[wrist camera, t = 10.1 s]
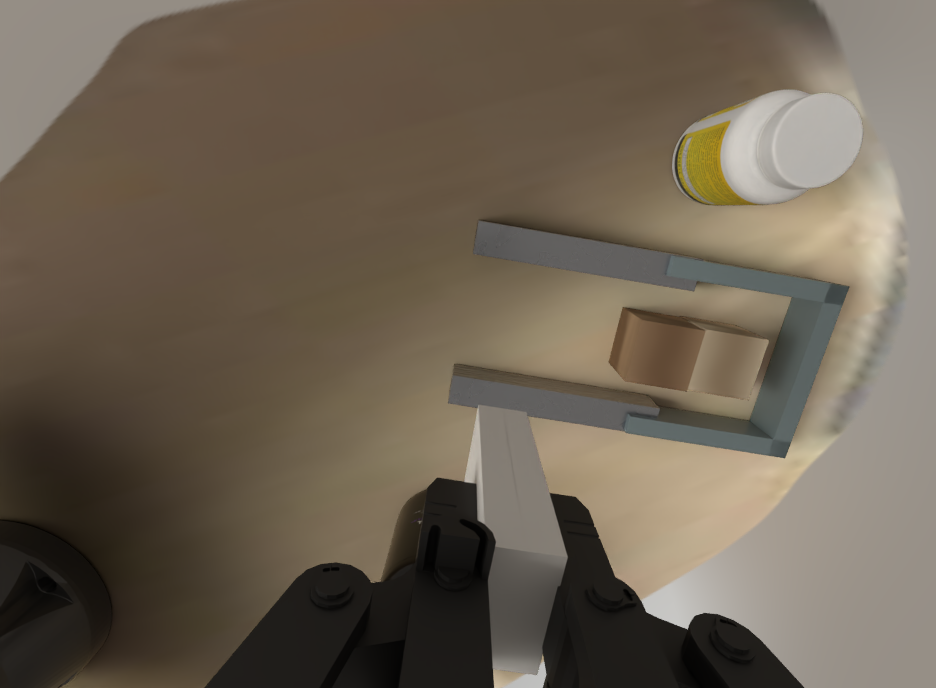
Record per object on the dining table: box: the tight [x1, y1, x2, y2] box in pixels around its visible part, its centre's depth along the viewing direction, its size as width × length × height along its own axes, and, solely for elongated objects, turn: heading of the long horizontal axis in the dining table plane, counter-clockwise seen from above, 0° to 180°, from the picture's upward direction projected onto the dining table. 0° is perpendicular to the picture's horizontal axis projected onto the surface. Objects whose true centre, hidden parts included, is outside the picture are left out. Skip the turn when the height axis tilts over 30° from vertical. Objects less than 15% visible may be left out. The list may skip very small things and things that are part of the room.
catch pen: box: [624, 256, 849, 458], centre depth 33 cm, size 11×12×3 cm
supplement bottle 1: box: [381, 490, 427, 582], centre depth 33 cm, size 7×7×12 cm
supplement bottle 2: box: [672, 89, 863, 205], centre depth 27 cm, size 5×5×10 cm
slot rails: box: [448, 220, 703, 431], centre depth 33 cm, size 14×12×2 cm
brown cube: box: [609, 307, 706, 392], centre depth 33 cm, size 4×4×4 cm
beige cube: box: [680, 316, 769, 400], centre depth 33 cm, size 4×4×4 cm
